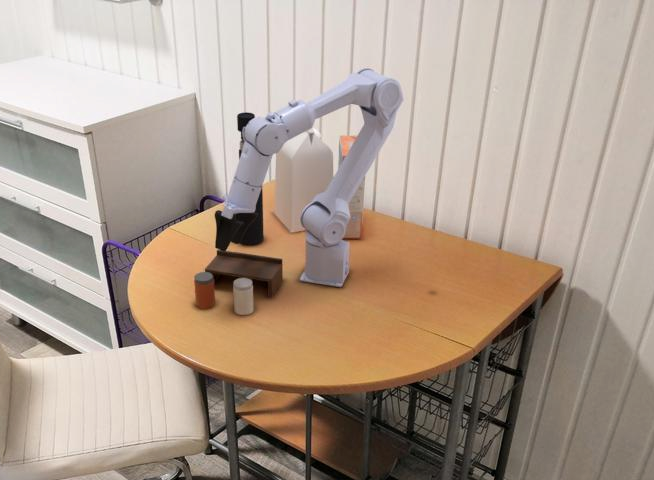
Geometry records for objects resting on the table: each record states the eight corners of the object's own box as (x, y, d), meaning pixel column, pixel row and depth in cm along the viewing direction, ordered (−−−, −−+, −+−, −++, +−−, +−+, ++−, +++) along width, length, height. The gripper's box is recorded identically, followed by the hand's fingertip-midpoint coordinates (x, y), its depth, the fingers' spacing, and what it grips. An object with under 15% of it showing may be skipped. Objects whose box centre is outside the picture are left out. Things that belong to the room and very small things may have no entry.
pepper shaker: (218, 300, 155) (216, 273, 151) (211, 310, 152) (209, 282, 148) (200, 297, 156) (198, 270, 152) (193, 307, 153) (190, 279, 149)
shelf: (282, 281, 162) (282, 258, 159) (272, 298, 156) (271, 275, 153) (218, 271, 165) (217, 249, 162) (206, 287, 160) (204, 265, 156)
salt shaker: (256, 306, 153) (255, 279, 149) (250, 316, 150) (248, 288, 146) (238, 303, 154) (237, 276, 150) (231, 313, 151) (229, 285, 147)
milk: (273, 213, 190) (272, 111, 175) (314, 206, 194) (316, 106, 179) (291, 232, 181) (291, 127, 166) (334, 224, 185) (337, 120, 170)
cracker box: (362, 239, 178) (367, 155, 166) (337, 239, 178) (340, 155, 166) (359, 215, 189) (363, 134, 177) (335, 215, 190) (338, 134, 177)
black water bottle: (268, 238, 179) (266, 113, 161) (253, 248, 174) (249, 121, 157) (247, 231, 182) (242, 108, 164) (231, 241, 177) (225, 116, 160)
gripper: (241, 170, 150) (221, 232, 155) (216, 177, 137) (195, 244, 142) (272, 183, 149) (251, 245, 154) (250, 191, 136) (228, 258, 141)
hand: (226, 245), depth 148 cm, fingers open, 7 cm apart
